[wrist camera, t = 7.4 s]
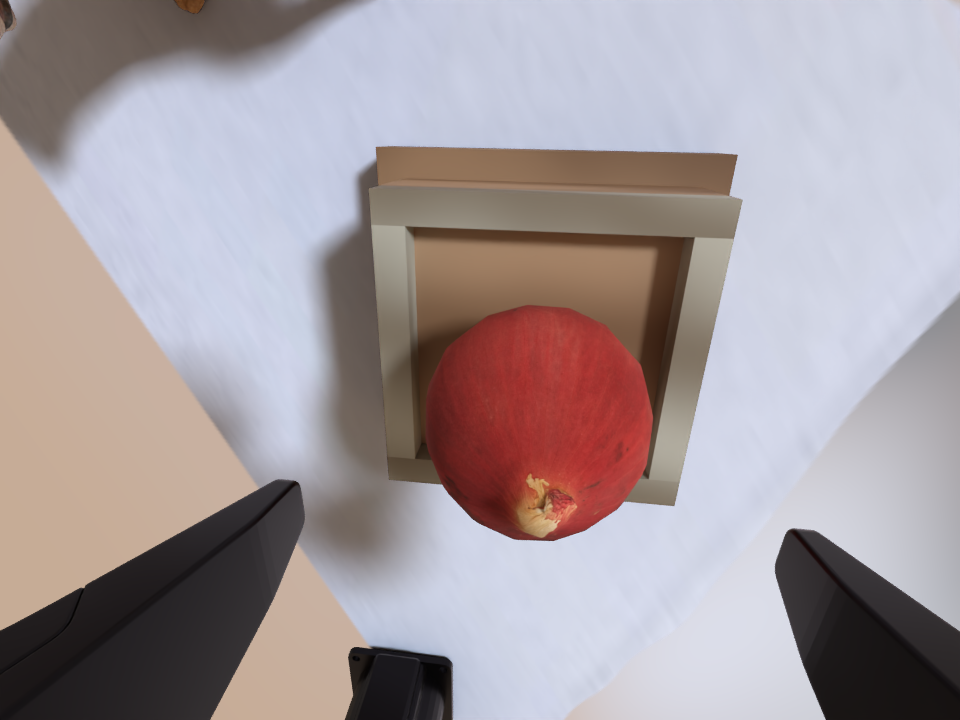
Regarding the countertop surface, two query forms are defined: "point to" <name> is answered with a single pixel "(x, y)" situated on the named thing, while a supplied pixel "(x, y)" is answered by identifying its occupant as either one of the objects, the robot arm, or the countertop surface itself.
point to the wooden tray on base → (551, 271)
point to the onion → (538, 422)
